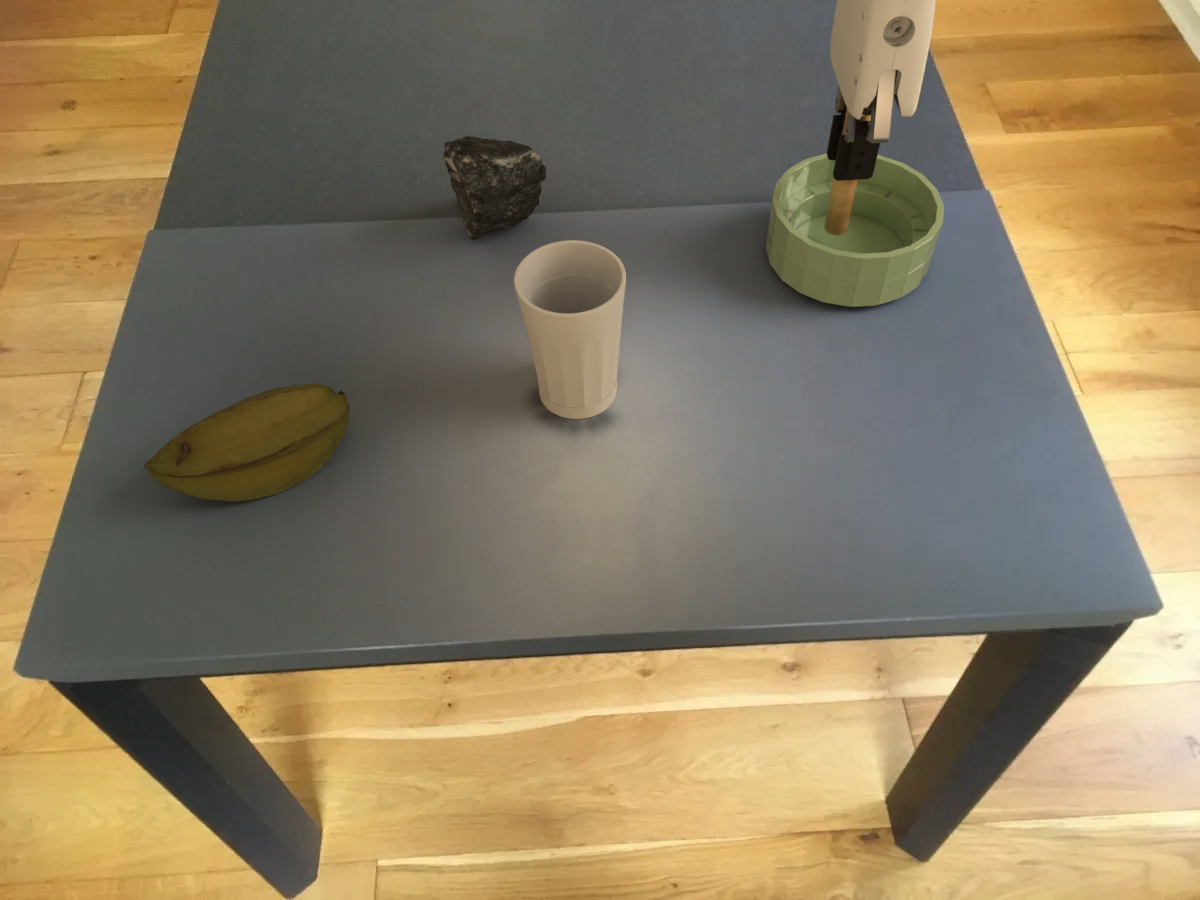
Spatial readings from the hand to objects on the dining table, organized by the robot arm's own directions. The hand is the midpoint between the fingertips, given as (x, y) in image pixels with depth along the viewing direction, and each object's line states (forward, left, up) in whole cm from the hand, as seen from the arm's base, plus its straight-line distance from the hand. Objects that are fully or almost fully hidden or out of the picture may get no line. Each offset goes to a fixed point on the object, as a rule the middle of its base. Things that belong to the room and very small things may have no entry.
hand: (848, 166), depth 81 cm
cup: (+18, +22, -9) cm, 29 cm away
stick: (0, 0, -7) cm, 7 cm away
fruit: (+39, +35, -9) cm, 53 cm away
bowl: (-1, +1, -9) cm, 9 cm away
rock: (+31, +4, -9) cm, 32 cm away
